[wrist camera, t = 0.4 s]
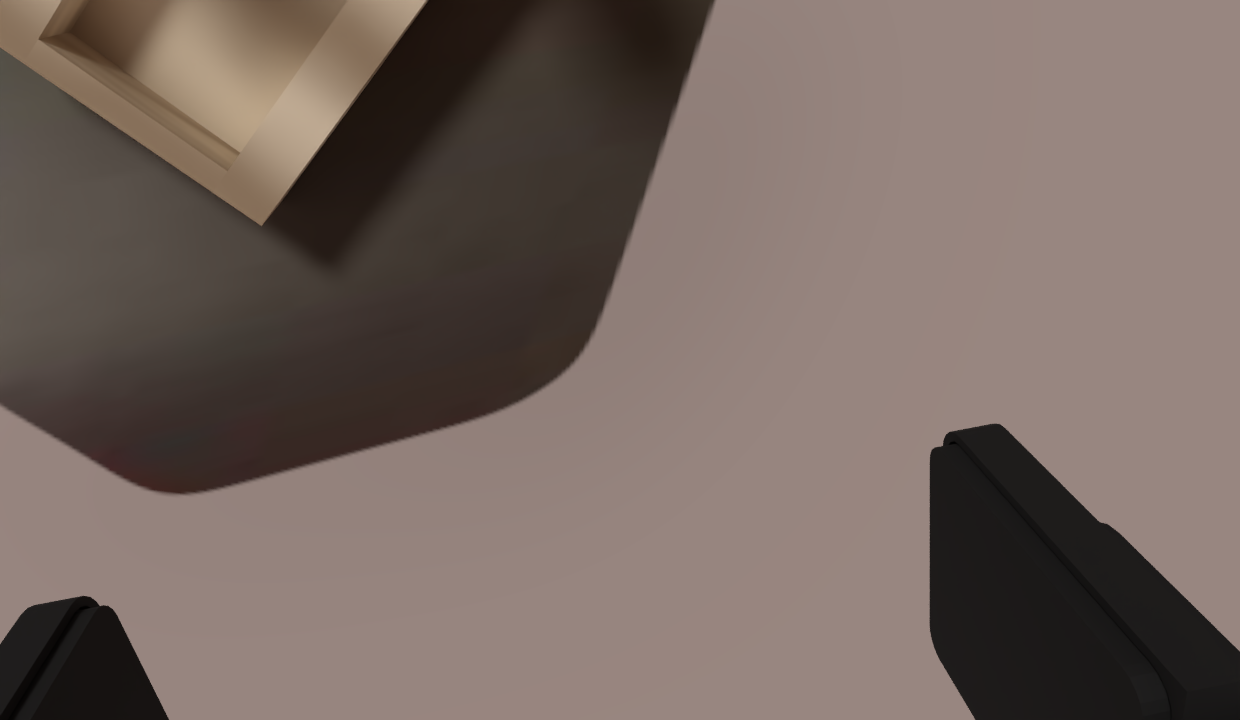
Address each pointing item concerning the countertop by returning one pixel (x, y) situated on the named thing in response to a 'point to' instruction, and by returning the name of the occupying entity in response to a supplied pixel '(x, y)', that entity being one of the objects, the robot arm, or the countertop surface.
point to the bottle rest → (214, 77)
